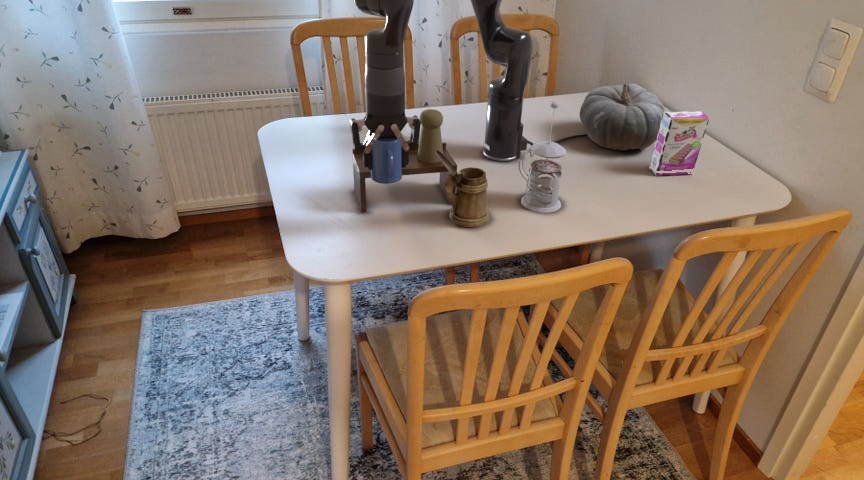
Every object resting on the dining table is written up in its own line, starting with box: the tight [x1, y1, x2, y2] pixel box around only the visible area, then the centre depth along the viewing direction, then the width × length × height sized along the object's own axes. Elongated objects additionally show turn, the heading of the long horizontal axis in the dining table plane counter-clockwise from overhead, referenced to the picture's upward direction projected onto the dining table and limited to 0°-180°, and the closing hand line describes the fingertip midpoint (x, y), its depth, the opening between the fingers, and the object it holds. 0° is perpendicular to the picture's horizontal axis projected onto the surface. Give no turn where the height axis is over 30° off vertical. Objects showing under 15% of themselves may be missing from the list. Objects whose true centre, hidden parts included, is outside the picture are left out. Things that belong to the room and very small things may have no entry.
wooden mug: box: [436, 150, 490, 228], centre depth 138 cm, size 9×14×18 cm, turn 120°
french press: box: [518, 101, 567, 214], centre depth 146 cm, size 10×12×25 cm
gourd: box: [579, 82, 665, 151], centre depth 183 cm, size 25×25×17 cm
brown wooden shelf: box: [351, 142, 458, 214], centre depth 146 cm, size 22×10×11 cm, turn 108°
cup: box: [370, 134, 403, 185], centre depth 128 cm, size 6×8×9 cm
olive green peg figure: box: [417, 108, 444, 163], centre depth 143 cm, size 6×6×11 cm
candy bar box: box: [648, 110, 710, 177], centre depth 168 cm, size 11×5×16 cm, turn 104°
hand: (386, 167), depth 130 cm, fingers closed on cup, 6 cm apart
